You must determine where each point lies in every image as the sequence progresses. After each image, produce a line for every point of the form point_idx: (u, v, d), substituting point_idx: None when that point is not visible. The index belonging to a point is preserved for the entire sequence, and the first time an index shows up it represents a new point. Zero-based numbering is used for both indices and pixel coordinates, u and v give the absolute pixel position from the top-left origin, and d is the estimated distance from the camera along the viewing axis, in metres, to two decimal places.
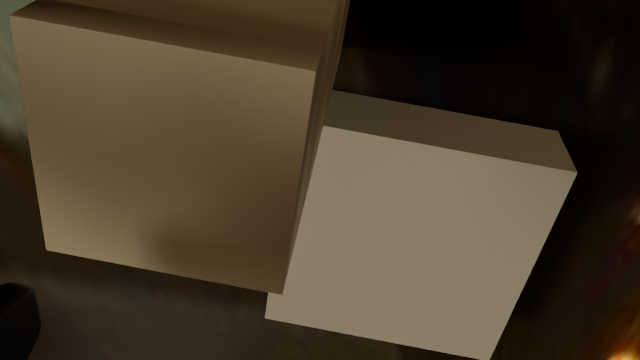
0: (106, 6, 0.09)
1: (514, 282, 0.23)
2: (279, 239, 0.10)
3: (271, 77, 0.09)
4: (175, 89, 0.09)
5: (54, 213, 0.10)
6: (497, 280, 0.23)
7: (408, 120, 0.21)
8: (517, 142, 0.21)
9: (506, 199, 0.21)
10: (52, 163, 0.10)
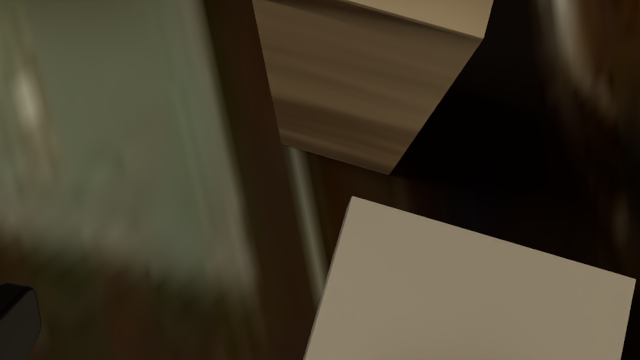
0: None
1: None
2: None
3: None
4: None
5: None
6: None
7: None
8: None
9: (570, 308, 0.19)
10: None
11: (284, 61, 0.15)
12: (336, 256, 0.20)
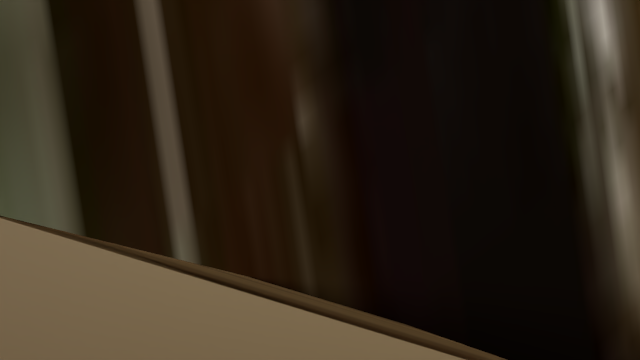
0: (183, 269, 0.04)
1: None
2: None
3: None
4: None
5: None
6: None
7: None
8: None
9: None
10: None
11: None
12: None
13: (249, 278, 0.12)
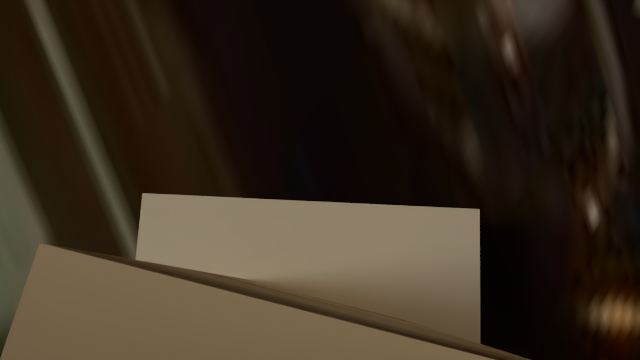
0: (205, 281, 0.05)
1: None
2: None
3: None
4: None
5: None
6: None
7: None
8: None
9: (413, 260, 0.17)
10: None
11: None
12: None
13: (249, 281, 0.13)
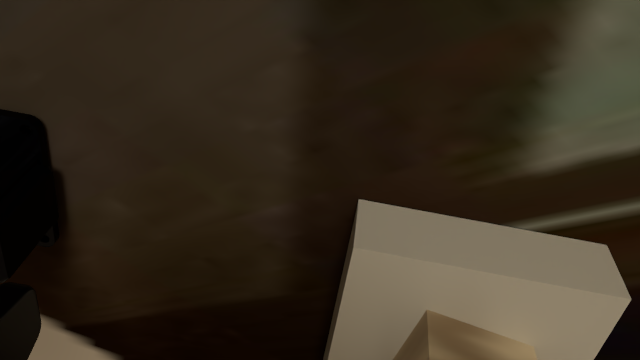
0: None
1: None
2: None
3: None
4: None
5: None
6: None
7: None
8: None
9: None
10: None
11: None
12: (570, 288, 0.21)
13: None
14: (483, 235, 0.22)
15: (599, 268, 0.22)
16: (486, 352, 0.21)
